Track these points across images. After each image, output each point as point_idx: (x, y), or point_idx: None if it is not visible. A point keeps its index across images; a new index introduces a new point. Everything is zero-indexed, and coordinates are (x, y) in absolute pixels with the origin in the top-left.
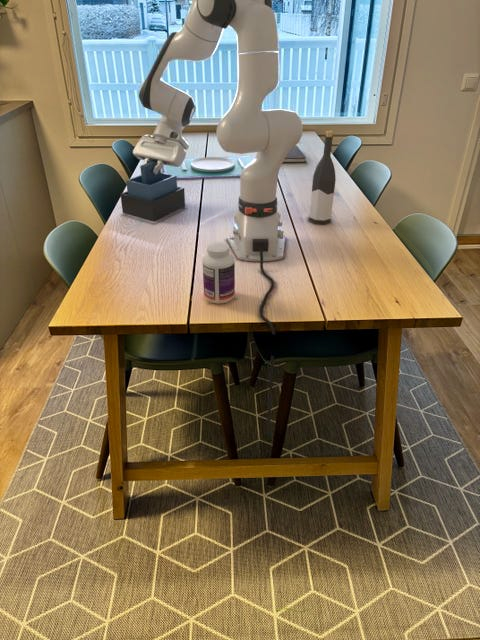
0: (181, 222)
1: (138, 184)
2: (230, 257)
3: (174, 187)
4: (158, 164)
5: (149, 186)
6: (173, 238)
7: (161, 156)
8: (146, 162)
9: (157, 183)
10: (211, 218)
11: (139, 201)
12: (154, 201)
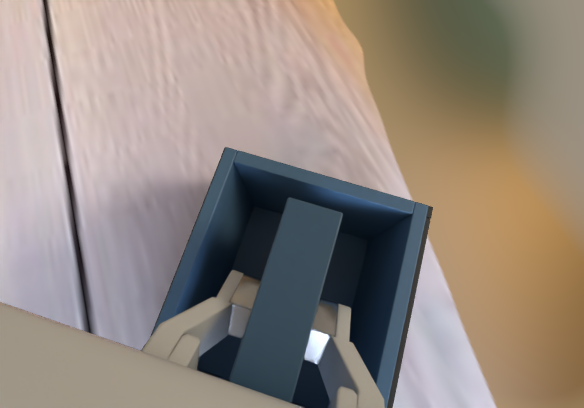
0: (145, 226)
1: (320, 176)
2: None
3: None
4: (182, 318)
5: (231, 149)
6: (137, 96)
7: (105, 378)
8: (348, 370)
9: (200, 211)
10: (32, 302)
11: None
12: (218, 164)
